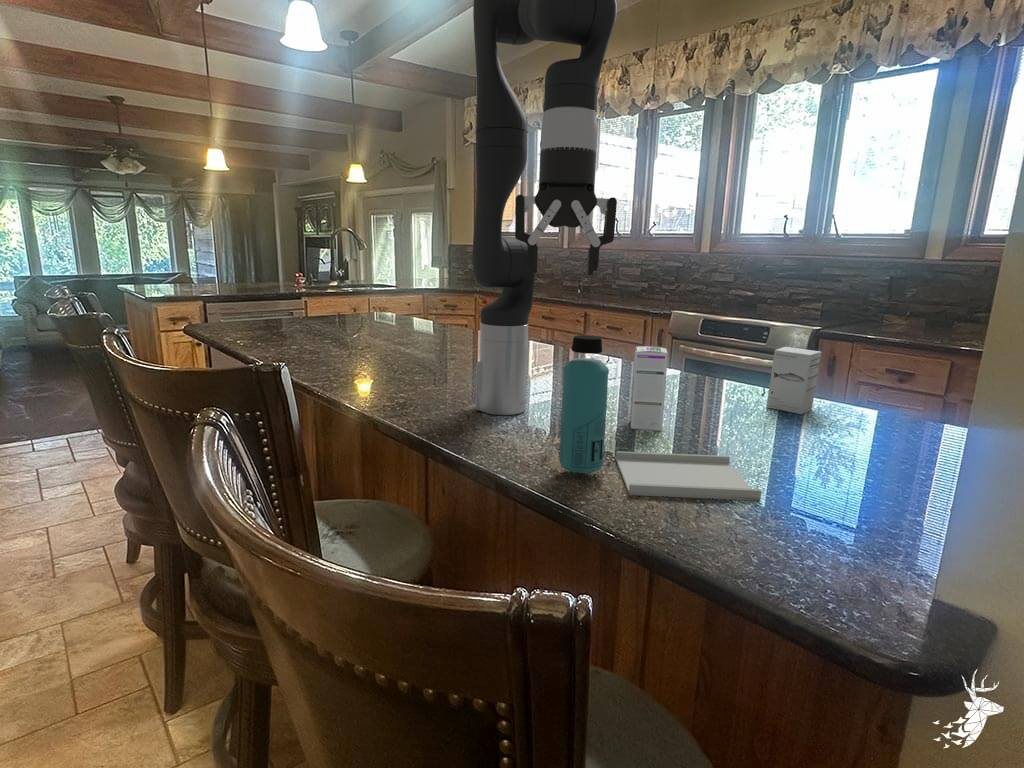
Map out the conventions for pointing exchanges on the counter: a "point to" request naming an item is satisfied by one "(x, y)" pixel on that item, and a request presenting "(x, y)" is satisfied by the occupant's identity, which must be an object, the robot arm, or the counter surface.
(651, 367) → the syrup box
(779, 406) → the supplement box
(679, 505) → the counter surface
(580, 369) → the beverage bottle
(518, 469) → the counter surface
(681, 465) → the panel with raised edges
